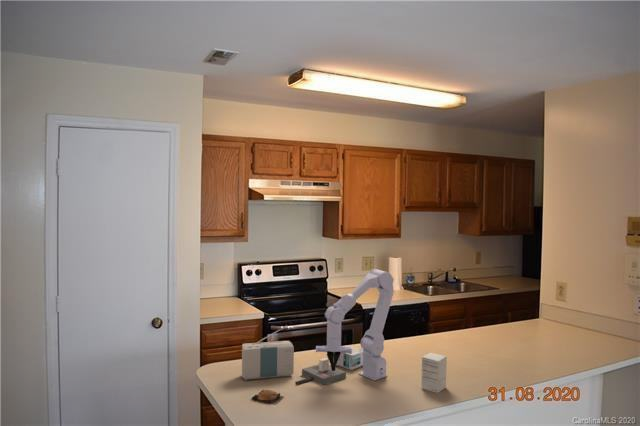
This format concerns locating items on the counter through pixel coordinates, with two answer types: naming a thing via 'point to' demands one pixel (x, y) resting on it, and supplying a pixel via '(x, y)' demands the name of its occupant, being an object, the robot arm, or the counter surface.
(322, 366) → the breaker toggle
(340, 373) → the box
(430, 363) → the supplement box
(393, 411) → the counter surface
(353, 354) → the light bulb box
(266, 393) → the bread roll
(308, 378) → the power cord
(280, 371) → the stereo radio cassette player
